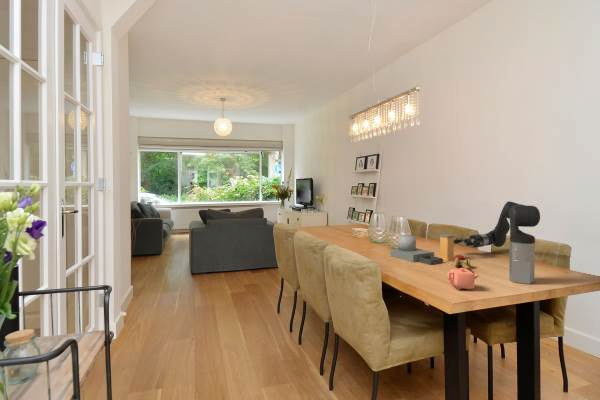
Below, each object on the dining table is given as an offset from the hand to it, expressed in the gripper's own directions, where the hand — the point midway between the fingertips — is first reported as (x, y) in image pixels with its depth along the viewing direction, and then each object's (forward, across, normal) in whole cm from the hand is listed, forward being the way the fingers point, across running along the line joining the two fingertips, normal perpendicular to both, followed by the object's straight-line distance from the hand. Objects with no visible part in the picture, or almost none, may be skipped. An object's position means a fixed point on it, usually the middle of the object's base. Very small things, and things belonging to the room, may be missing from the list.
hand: (460, 243), depth 194 cm
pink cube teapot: (+48, +39, +9) cm, 62 cm away
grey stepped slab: (+24, -9, +9) cm, 27 cm away
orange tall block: (+11, 0, +9) cm, 14 cm away
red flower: (+20, +18, +9) cm, 28 cm away
